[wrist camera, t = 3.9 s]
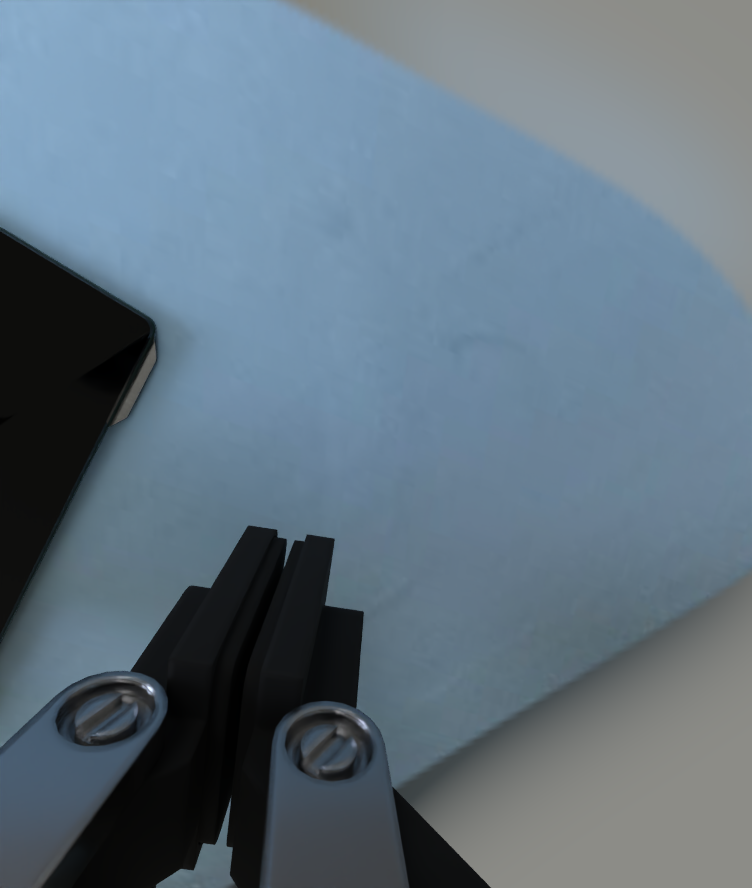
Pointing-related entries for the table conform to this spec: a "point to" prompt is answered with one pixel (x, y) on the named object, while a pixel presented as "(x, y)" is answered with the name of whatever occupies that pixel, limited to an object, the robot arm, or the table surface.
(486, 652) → the table surface
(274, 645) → the robot arm
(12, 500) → the build plate
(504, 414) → the table surface
